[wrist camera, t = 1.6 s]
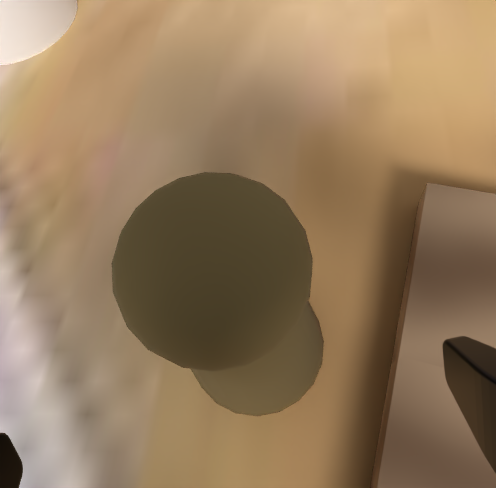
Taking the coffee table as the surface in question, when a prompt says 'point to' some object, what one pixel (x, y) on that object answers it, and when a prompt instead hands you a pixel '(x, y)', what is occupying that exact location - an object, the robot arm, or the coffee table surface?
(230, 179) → the olive bulb shape
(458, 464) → the notched board
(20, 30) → the upright rounded white block
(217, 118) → the coffee table surface
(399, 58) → the coffee table surface
